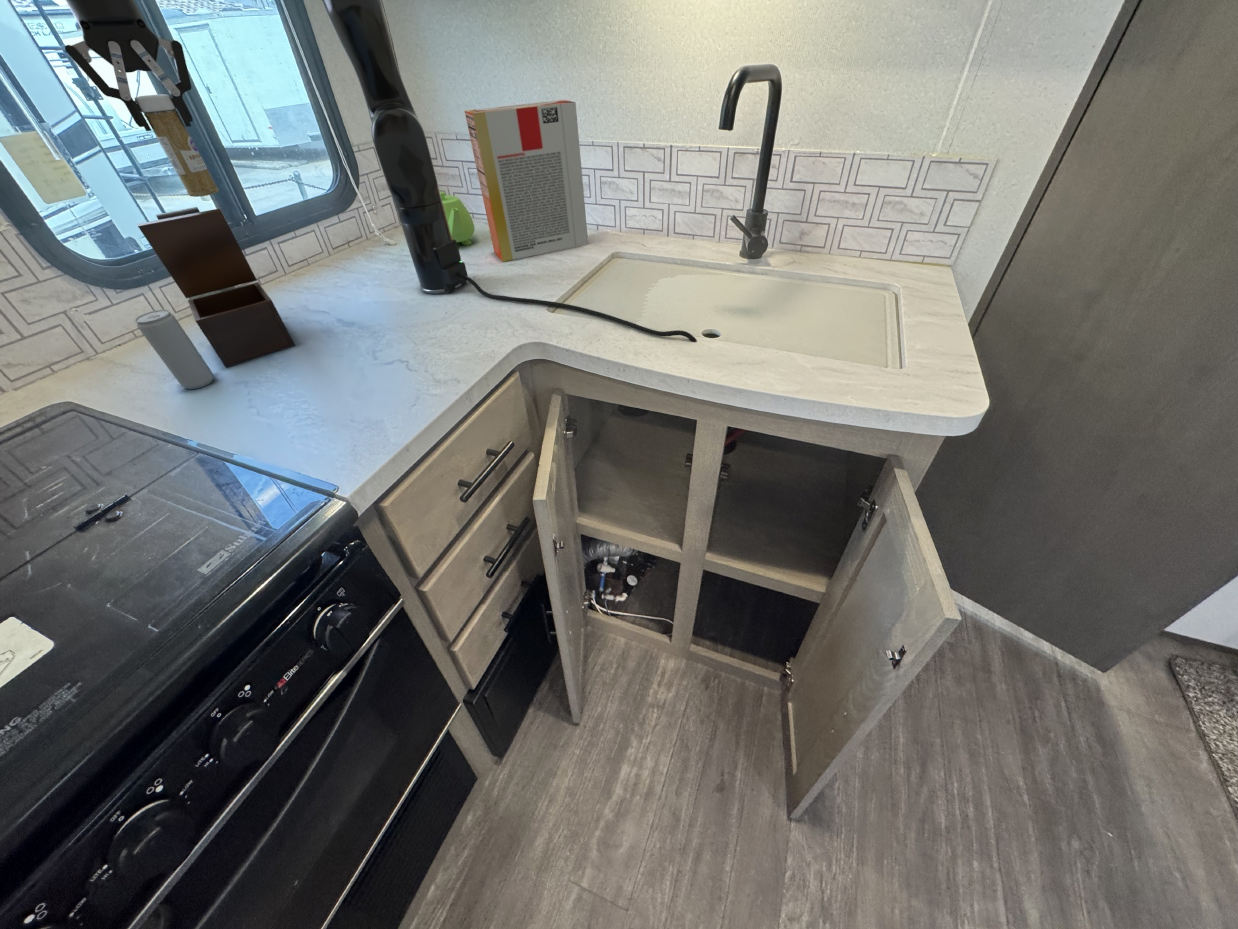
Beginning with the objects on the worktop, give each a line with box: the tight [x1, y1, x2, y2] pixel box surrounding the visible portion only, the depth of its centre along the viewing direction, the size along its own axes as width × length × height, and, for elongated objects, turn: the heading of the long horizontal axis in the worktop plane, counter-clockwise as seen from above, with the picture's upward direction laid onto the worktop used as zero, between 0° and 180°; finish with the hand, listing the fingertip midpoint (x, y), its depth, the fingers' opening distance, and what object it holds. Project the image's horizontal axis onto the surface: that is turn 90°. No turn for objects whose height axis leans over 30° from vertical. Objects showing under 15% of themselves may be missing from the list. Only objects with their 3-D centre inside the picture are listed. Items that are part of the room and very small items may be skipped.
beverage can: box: [134, 309, 215, 390], centre depth 80 cm, size 5×5×12 cm
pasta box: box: [464, 99, 589, 263], centre depth 118 cm, size 23×8×30 cm, turn 116°
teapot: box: [440, 190, 476, 246], centre depth 132 cm, size 20×13×13 cm
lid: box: [136, 206, 258, 299], centre depth 87 cm, size 13×12×6 cm
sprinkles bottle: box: [134, 93, 220, 198], centre depth 79 cm, size 5×5×14 cm
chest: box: [187, 281, 296, 368], centre depth 91 cm, size 13×12×9 cm
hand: (168, 127), depth 77 cm, fingers closed on sprinkles bottle, 4 cm apart
